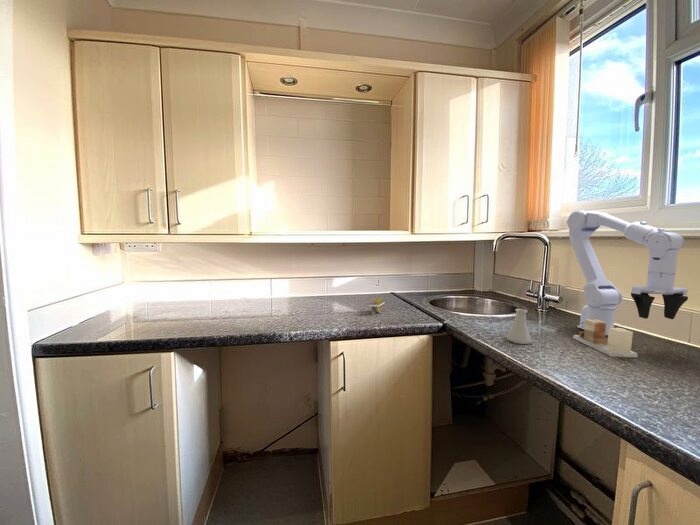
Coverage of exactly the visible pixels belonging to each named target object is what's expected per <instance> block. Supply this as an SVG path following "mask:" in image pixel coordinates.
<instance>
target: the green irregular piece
mask: <svg viewBox="0 0 700 525" xmlns="http://www.w3.org/2000/svg"><path fill="white" fill-rule="evenodd" d="M384 304H385V301H384V300H383V298H382V297H377V298H375V299H373V302H371V303H369V304H368V306H369V307H371V314H370V315H371V316H374V315H375V314H377V313H382V308H383V307H382V305H384Z"/></svg>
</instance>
